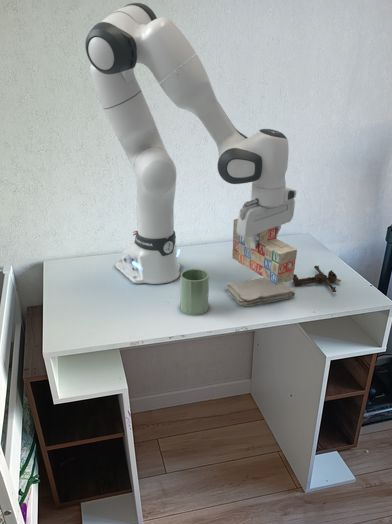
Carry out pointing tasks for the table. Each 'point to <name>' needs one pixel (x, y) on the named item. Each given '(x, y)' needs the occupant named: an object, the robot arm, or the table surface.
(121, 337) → the table surface
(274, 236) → the stack of blocks
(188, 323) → the table surface
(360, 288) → the table surface
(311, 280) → the brown toy monkey
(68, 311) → the table surface
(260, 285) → the washcloth
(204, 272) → the pencil cup
